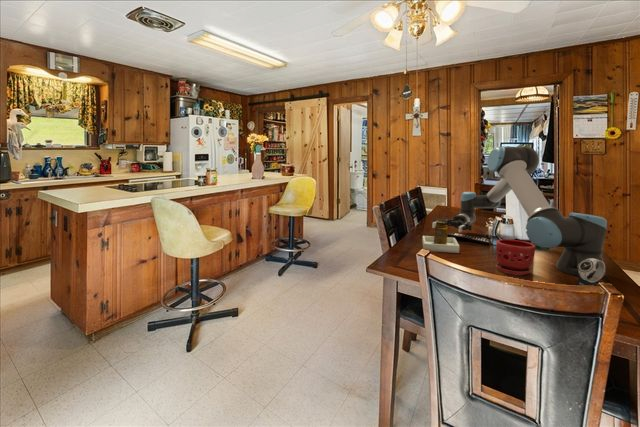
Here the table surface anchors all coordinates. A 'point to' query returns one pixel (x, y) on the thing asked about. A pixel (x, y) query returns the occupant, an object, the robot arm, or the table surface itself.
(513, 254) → the plant pot
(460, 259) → the table surface
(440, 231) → the condiment
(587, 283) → the watch
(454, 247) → the pale green square tray
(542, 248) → the canned tomato
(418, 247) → the table surface
